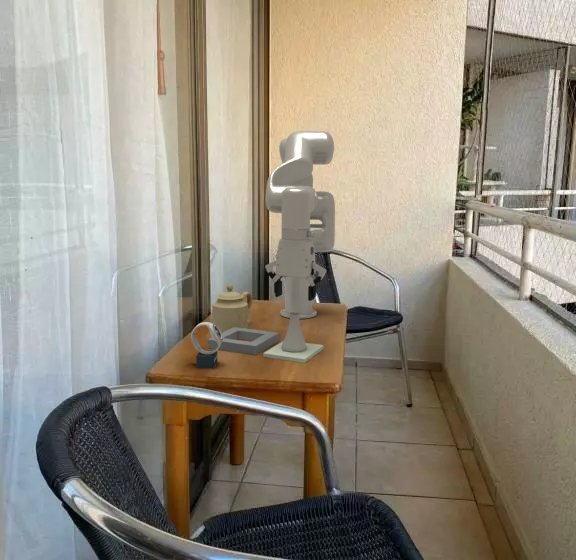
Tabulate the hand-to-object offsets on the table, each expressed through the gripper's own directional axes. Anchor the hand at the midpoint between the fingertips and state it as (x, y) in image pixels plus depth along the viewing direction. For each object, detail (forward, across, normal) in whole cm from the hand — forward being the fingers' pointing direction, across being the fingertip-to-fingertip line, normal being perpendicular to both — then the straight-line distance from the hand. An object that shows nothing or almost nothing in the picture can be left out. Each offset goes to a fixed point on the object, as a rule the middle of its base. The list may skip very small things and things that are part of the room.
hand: (294, 297), depth 160 cm
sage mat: (+15, 0, +1) cm, 15 cm away
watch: (+15, +16, +20) cm, 29 cm away
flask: (+14, 0, +1) cm, 15 cm away
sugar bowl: (+16, +28, -14) cm, 35 cm away
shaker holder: (+15, +16, 0) cm, 22 cm away
